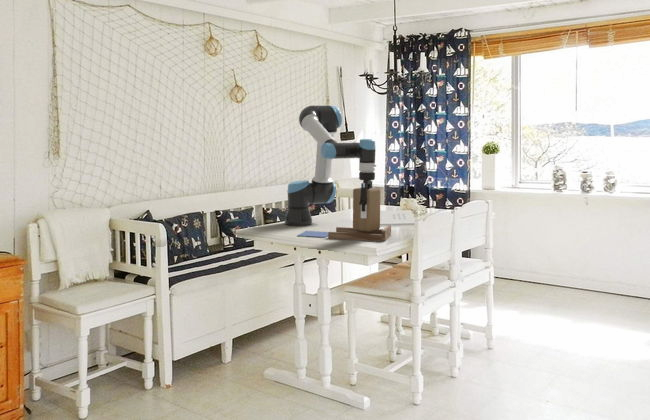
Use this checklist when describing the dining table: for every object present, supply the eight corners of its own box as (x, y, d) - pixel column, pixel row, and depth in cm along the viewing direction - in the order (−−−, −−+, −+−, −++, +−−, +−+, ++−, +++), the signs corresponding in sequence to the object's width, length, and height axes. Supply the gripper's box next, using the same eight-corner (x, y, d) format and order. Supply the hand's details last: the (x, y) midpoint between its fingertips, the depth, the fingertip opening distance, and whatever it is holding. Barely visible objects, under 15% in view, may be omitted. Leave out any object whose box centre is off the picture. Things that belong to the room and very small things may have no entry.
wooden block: (363, 227, 315) (364, 186, 312) (380, 229, 309) (381, 188, 306) (351, 229, 307) (352, 188, 304) (368, 232, 301) (369, 190, 298)
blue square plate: (306, 231, 324) (305, 230, 324) (332, 233, 320) (332, 232, 320) (297, 236, 311) (297, 235, 310) (324, 237, 307) (324, 236, 307)
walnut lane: (336, 232, 320) (336, 223, 320) (390, 235, 313) (391, 225, 312) (328, 238, 305) (328, 228, 305) (384, 241, 298) (384, 230, 297)
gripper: (369, 173, 291) (368, 220, 294) (379, 170, 315) (379, 213, 317) (353, 173, 293) (353, 219, 296) (364, 169, 317) (364, 212, 320)
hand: (366, 216), depth 307 cm, fingers closed on wooden block, 12 cm apart
